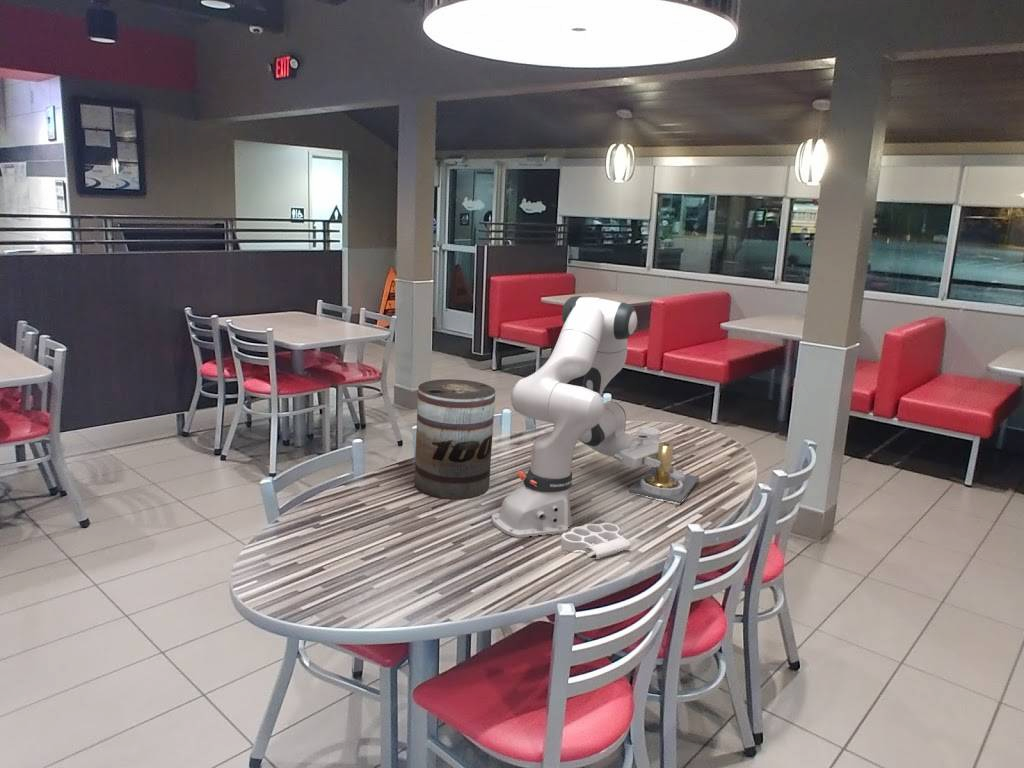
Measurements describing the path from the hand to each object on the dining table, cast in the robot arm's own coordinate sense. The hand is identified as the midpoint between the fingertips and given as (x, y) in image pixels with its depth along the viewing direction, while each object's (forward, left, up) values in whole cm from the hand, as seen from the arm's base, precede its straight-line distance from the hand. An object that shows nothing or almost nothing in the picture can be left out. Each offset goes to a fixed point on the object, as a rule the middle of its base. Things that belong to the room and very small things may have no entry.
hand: (666, 461), depth 231 cm
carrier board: (+4, +3, -10) cm, 11 cm away
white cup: (+17, +27, -10) cm, 34 cm away
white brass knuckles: (-42, -20, -11) cm, 48 cm away
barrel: (-58, +29, -10) cm, 66 cm away
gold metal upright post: (0, +1, -9) cm, 9 cm away
